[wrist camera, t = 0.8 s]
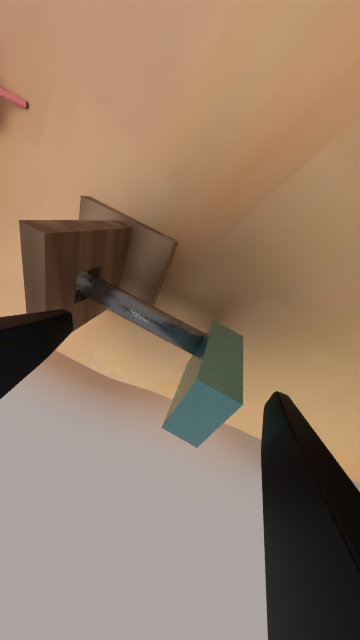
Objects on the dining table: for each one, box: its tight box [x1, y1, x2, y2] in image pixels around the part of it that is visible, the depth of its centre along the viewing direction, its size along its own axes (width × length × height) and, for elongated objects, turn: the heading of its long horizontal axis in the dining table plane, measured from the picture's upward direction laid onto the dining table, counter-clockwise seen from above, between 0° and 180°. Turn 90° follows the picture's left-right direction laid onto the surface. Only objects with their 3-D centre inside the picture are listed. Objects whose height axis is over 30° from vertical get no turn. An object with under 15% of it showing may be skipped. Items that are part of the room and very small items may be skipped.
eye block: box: [19, 196, 177, 332], centre depth 17 cm, size 10×10×10 cm
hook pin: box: [75, 271, 243, 447], centre depth 13 cm, size 18×5×7 cm, turn 67°
